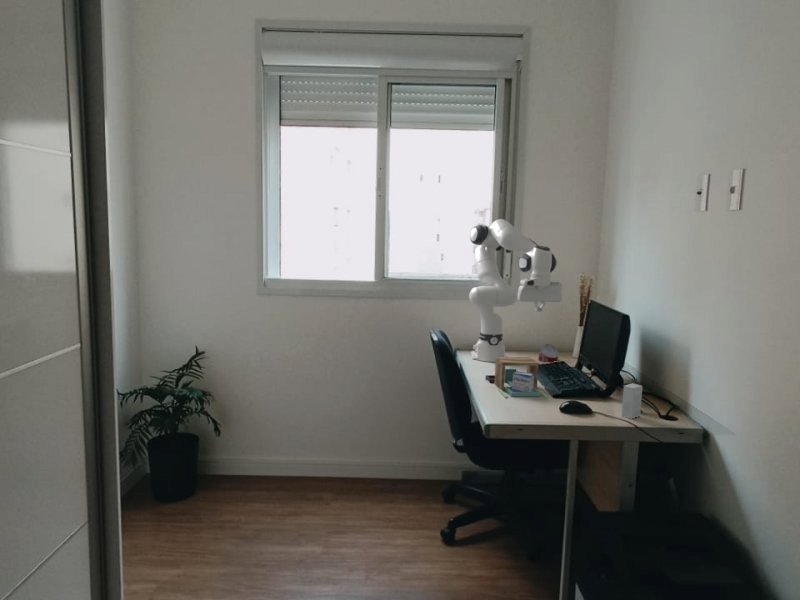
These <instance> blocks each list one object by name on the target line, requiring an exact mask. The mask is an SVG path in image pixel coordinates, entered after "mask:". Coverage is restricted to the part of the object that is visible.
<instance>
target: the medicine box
mask: <svg viewBox="0 0 800 600" xmlns="http://www.w3.org/2000/svg"><path fill="white" fill-rule="evenodd" d="M533 382H534V374H531V373H527V372H524V371H517V370H516V371H515V372H514V373H513V384H512V386H511V387H512V392H533Z"/></svg>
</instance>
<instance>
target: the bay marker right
mask: <svg viewBox="0 0 800 600" xmlns="http://www.w3.org/2000/svg"><path fill="white" fill-rule="evenodd" d="M537 390H538V391H539V392H540V395H542V396H543V397H544V398H545V399H548V398H549V396H548V395H547V394H546V393H545V391H543V390H541V389H540V388H537Z"/></svg>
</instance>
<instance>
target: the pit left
mask: <svg viewBox="0 0 800 600" xmlns="http://www.w3.org/2000/svg"><path fill="white" fill-rule="evenodd" d="M485 380H486V381H487V380H488V381H489V382H490V383H491V384H492V383H493V384H494V383H495V374H493V375H492V374H491V375H490V374H489V375H488V374H487V375H485ZM488 381H487V382H488ZM489 382H488V383H489ZM490 383H489V384H490Z"/></svg>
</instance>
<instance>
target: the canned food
mask: <svg viewBox="0 0 800 600" xmlns="http://www.w3.org/2000/svg"><path fill="white" fill-rule="evenodd" d="M540 352H541V353H539V354H538V361H539V362H542V363H546V362H554V361H558V362H559V356H560V354H559V351H558V350H557V349H556V347H555V346H554V345H552V344H550V343H544V344H542V345H541V346H540Z"/></svg>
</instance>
